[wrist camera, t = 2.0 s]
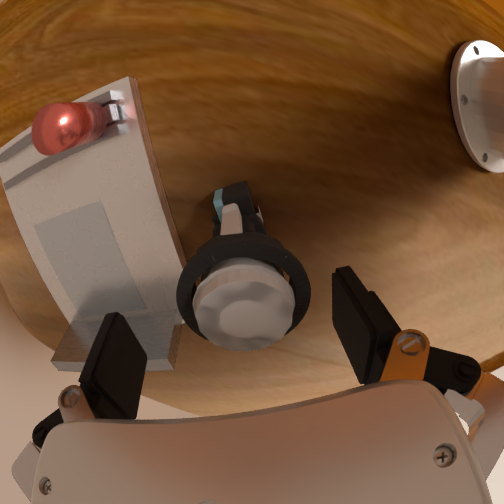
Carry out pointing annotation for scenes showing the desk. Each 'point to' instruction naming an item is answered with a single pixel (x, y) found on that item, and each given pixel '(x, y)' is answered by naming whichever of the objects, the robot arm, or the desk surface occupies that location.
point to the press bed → (101, 231)
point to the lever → (70, 125)
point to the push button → (242, 280)
